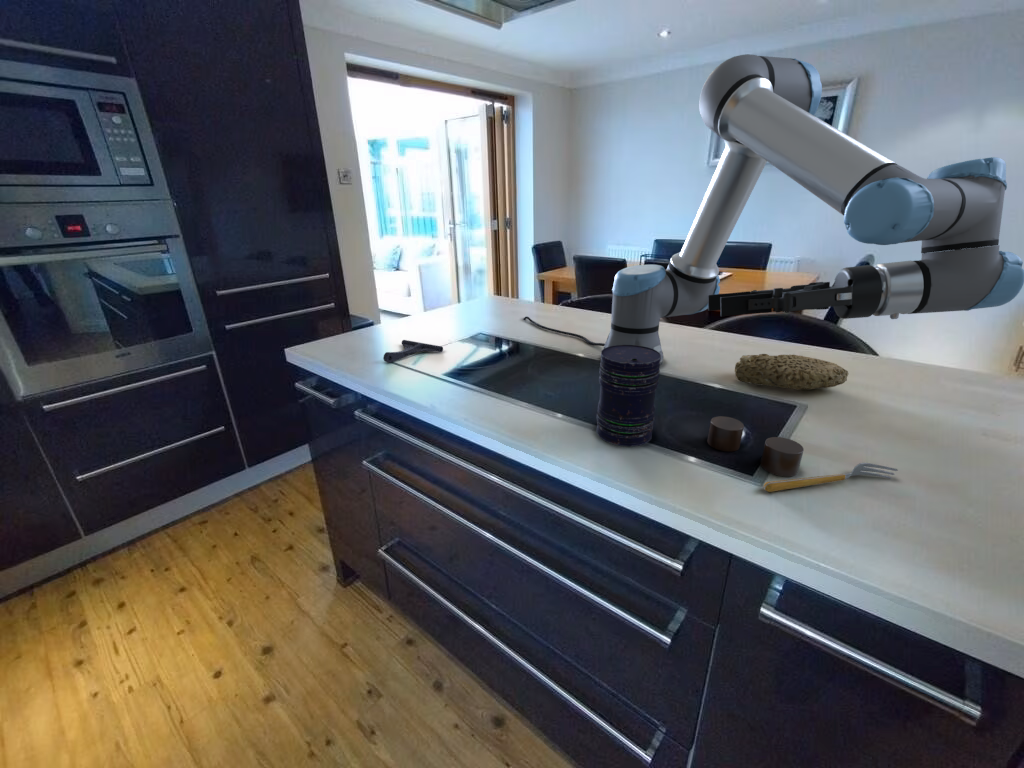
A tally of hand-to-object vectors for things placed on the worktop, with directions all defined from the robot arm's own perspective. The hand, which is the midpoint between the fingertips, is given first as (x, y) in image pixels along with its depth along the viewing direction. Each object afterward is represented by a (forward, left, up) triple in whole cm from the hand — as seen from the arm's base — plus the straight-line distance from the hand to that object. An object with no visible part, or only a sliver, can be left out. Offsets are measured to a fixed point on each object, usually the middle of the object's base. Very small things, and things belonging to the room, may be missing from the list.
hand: (713, 304), depth 71 cm
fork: (+21, 0, -23) cm, 31 cm away
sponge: (+1, +33, -23) cm, 40 cm away
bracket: (-73, -24, -23) cm, 80 cm away
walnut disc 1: (+6, -1, -23) cm, 23 cm away
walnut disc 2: (+15, -1, -23) cm, 27 cm away
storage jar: (-7, -11, -23) cm, 26 cm away
